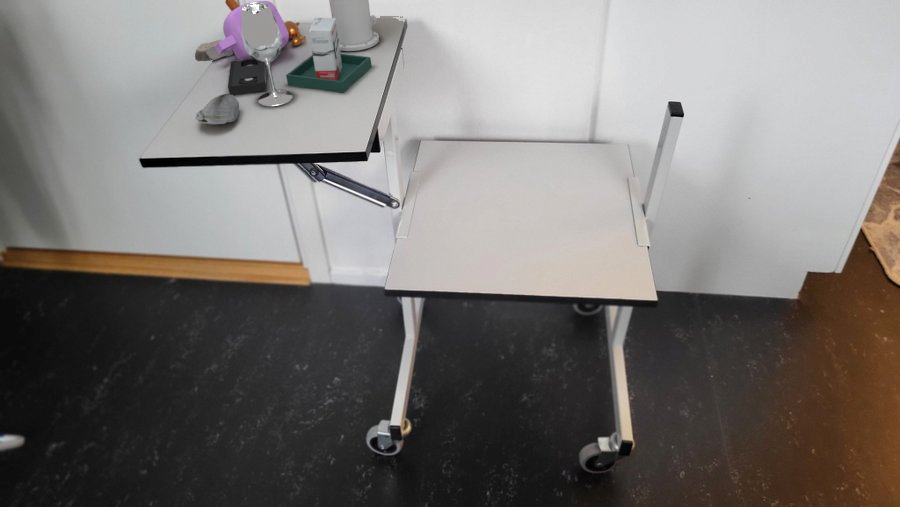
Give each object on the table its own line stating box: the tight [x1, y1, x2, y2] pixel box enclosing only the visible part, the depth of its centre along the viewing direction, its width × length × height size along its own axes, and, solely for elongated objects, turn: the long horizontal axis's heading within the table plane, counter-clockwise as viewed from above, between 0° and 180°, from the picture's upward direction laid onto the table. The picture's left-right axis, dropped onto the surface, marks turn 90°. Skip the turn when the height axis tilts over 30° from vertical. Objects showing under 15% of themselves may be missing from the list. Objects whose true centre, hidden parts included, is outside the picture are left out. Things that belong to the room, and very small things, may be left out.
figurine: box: [284, 20, 307, 47], centre depth 171 cm, size 12×4×11 cm
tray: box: [285, 53, 372, 94], centre depth 153 cm, size 14×14×2 cm
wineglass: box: [241, 2, 294, 108], centre depth 139 cm, size 8×8×20 cm
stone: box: [194, 39, 234, 62], centre depth 165 cm, size 12×5×4 cm, turn 131°
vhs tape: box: [227, 59, 268, 96], centre depth 153 cm, size 14×8×2 cm, turn 12°
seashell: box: [195, 93, 240, 125], centre depth 137 cm, size 12×8×5 cm
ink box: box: [308, 17, 342, 81], centre depth 149 cm, size 8×5×12 cm, turn 179°
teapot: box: [215, 0, 290, 61], centre depth 160 cm, size 20×12×13 cm
